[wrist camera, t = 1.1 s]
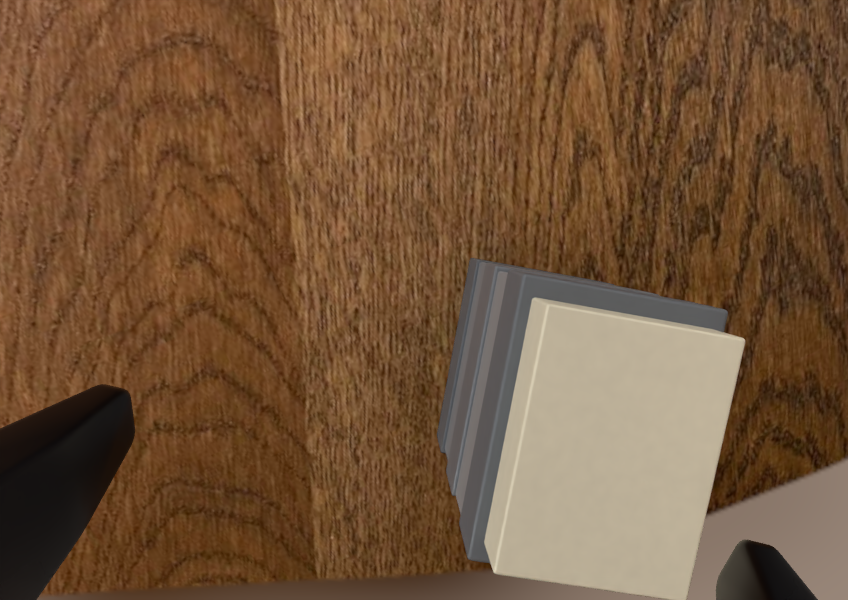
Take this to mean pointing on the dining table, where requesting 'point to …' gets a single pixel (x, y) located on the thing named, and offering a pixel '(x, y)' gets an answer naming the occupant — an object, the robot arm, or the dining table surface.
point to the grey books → (515, 369)
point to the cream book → (611, 450)
